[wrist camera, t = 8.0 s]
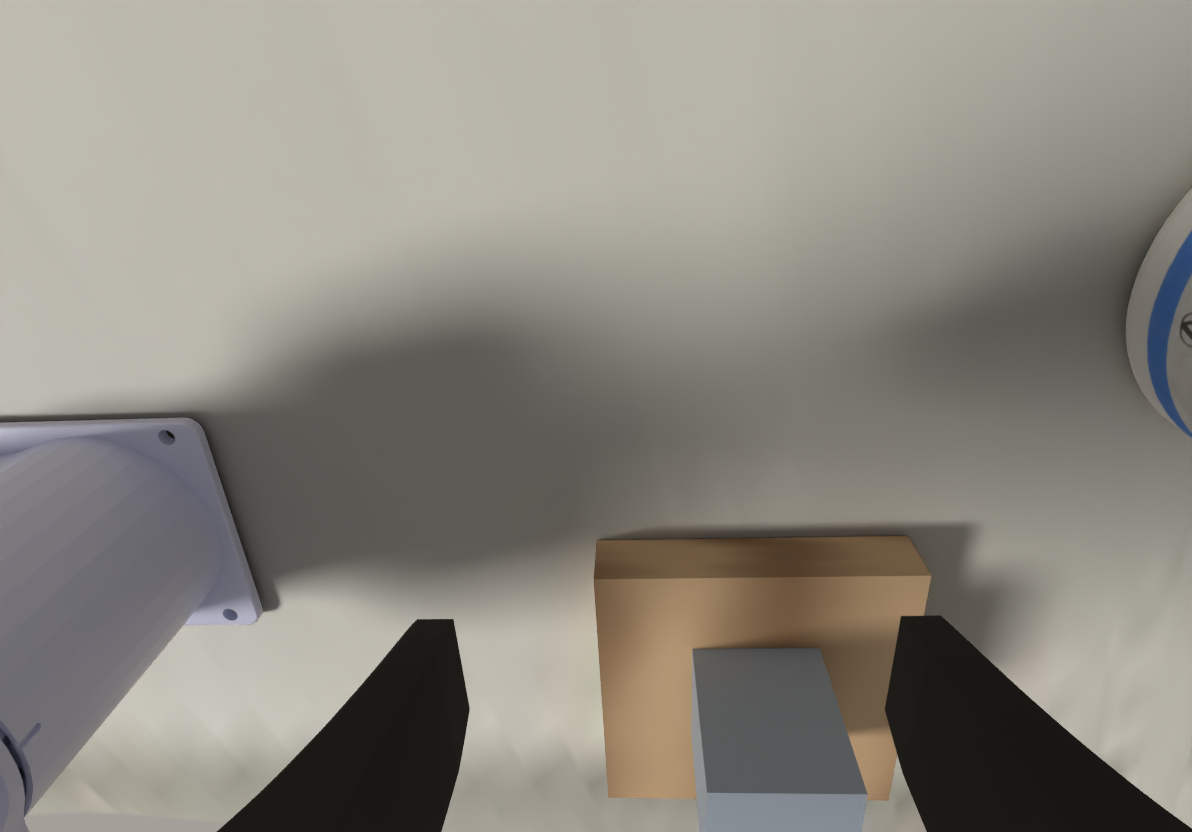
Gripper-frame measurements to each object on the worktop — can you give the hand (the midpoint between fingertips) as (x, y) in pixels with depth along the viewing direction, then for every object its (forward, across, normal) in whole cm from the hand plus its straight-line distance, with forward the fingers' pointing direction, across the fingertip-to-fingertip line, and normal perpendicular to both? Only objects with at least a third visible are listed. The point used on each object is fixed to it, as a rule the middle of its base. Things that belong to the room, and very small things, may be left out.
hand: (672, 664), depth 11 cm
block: (+8, -3, +10) cm, 13 cm away
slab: (+10, -3, +10) cm, 15 cm away
